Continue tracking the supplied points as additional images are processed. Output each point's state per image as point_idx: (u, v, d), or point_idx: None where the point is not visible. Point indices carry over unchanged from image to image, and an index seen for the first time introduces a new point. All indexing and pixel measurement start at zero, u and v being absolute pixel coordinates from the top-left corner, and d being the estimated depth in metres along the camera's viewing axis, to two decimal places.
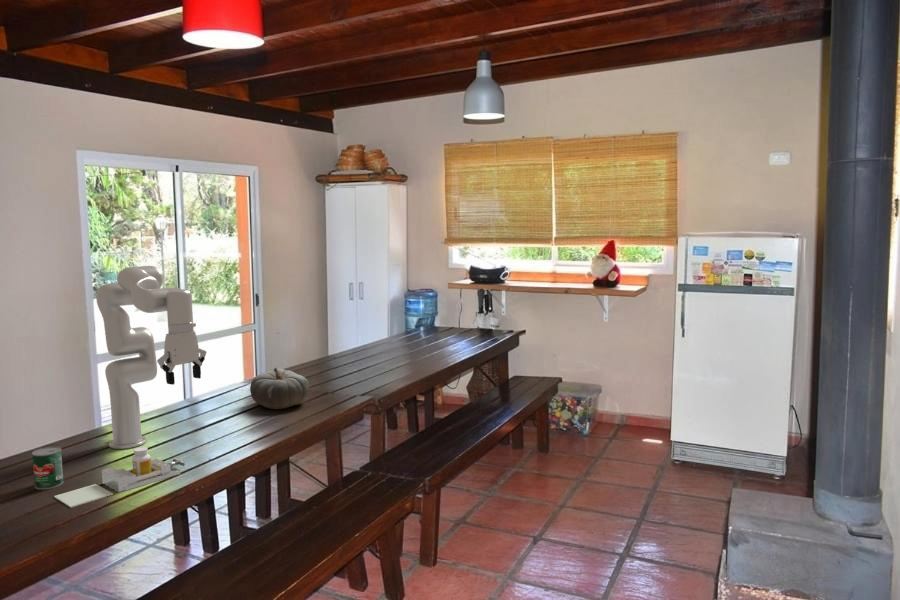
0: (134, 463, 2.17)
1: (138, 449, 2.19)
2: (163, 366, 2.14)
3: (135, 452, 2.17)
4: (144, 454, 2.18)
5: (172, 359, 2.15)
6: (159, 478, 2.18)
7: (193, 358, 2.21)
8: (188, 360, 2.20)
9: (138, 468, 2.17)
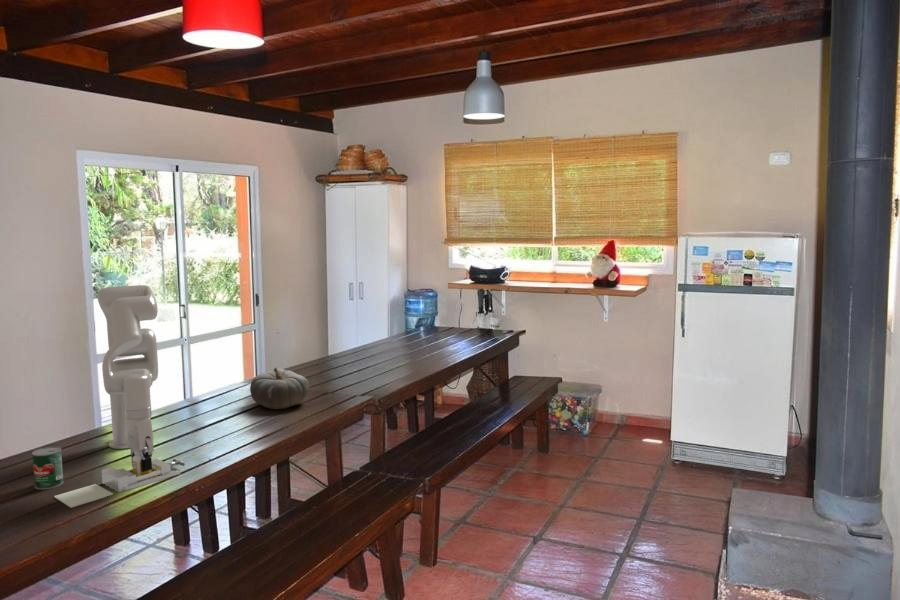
0: (134, 463, 2.17)
1: None
2: (151, 453, 2.16)
3: (135, 452, 2.17)
4: (144, 454, 2.18)
5: None
6: (159, 478, 2.18)
7: None
8: None
9: (138, 468, 2.17)
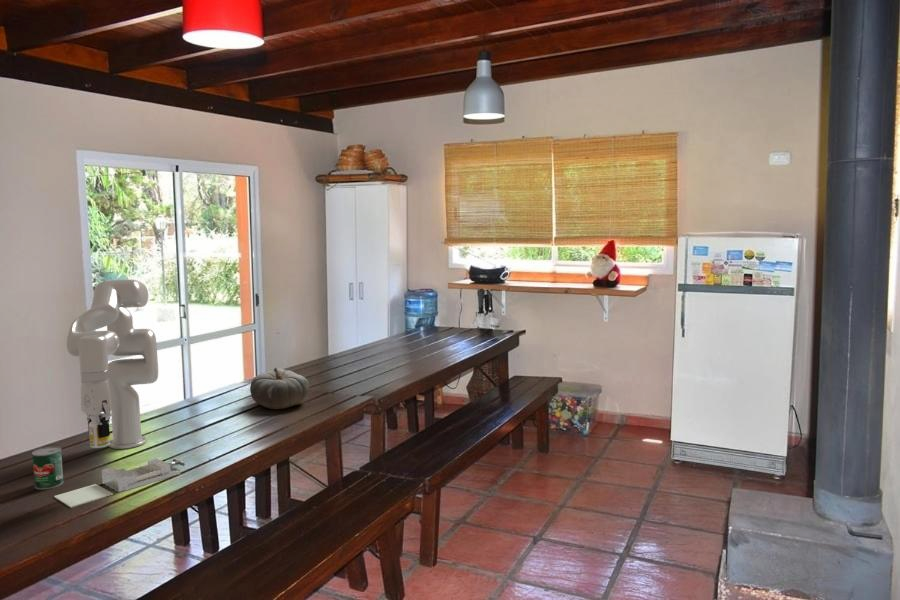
0: (91, 429, 2.06)
1: None
2: (109, 418, 2.05)
3: (92, 417, 2.06)
4: None
5: (110, 406, 2.06)
6: (159, 478, 2.18)
7: None
8: None
9: (95, 434, 2.06)
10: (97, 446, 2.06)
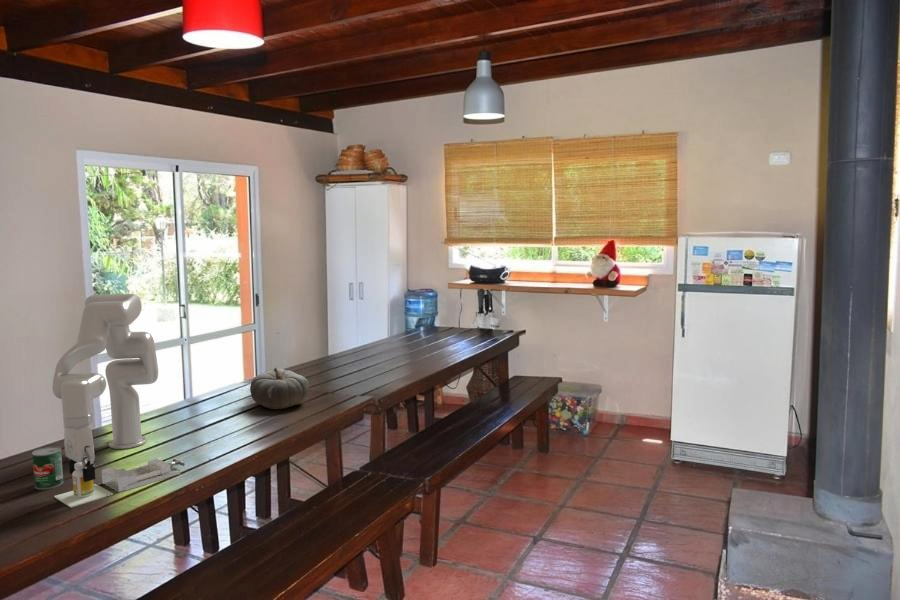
0: (74, 478, 2.04)
1: (79, 463, 2.05)
2: (94, 461, 2.01)
3: (75, 467, 2.04)
4: None
5: (93, 451, 2.03)
6: (159, 478, 2.18)
7: None
8: None
9: (78, 484, 2.03)
10: (80, 496, 2.04)
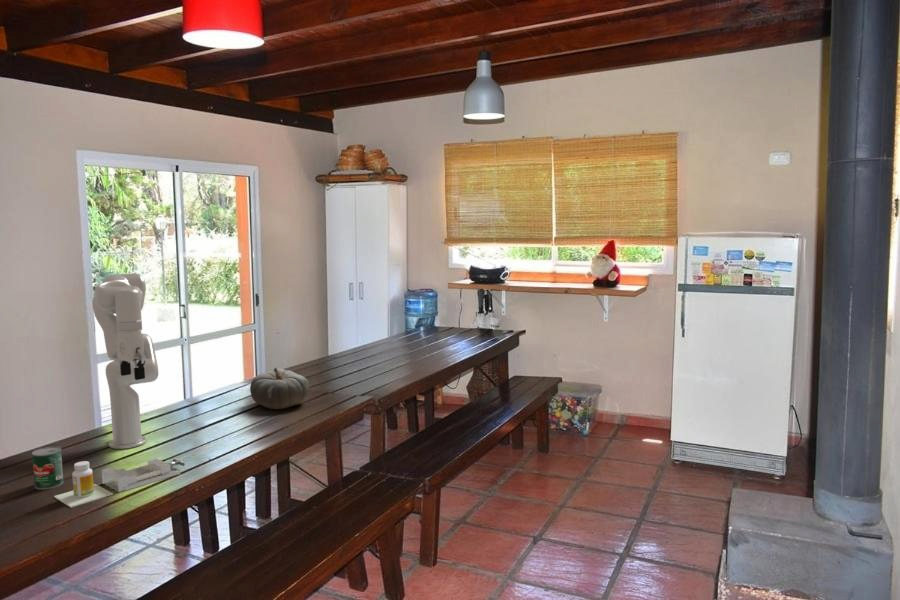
0: (74, 478, 2.04)
1: (79, 463, 2.05)
2: (144, 361, 2.24)
3: (75, 467, 2.04)
4: (85, 469, 2.05)
5: (143, 353, 2.26)
6: (159, 478, 2.18)
7: None
8: None
9: (78, 484, 2.03)
10: (80, 496, 2.04)
